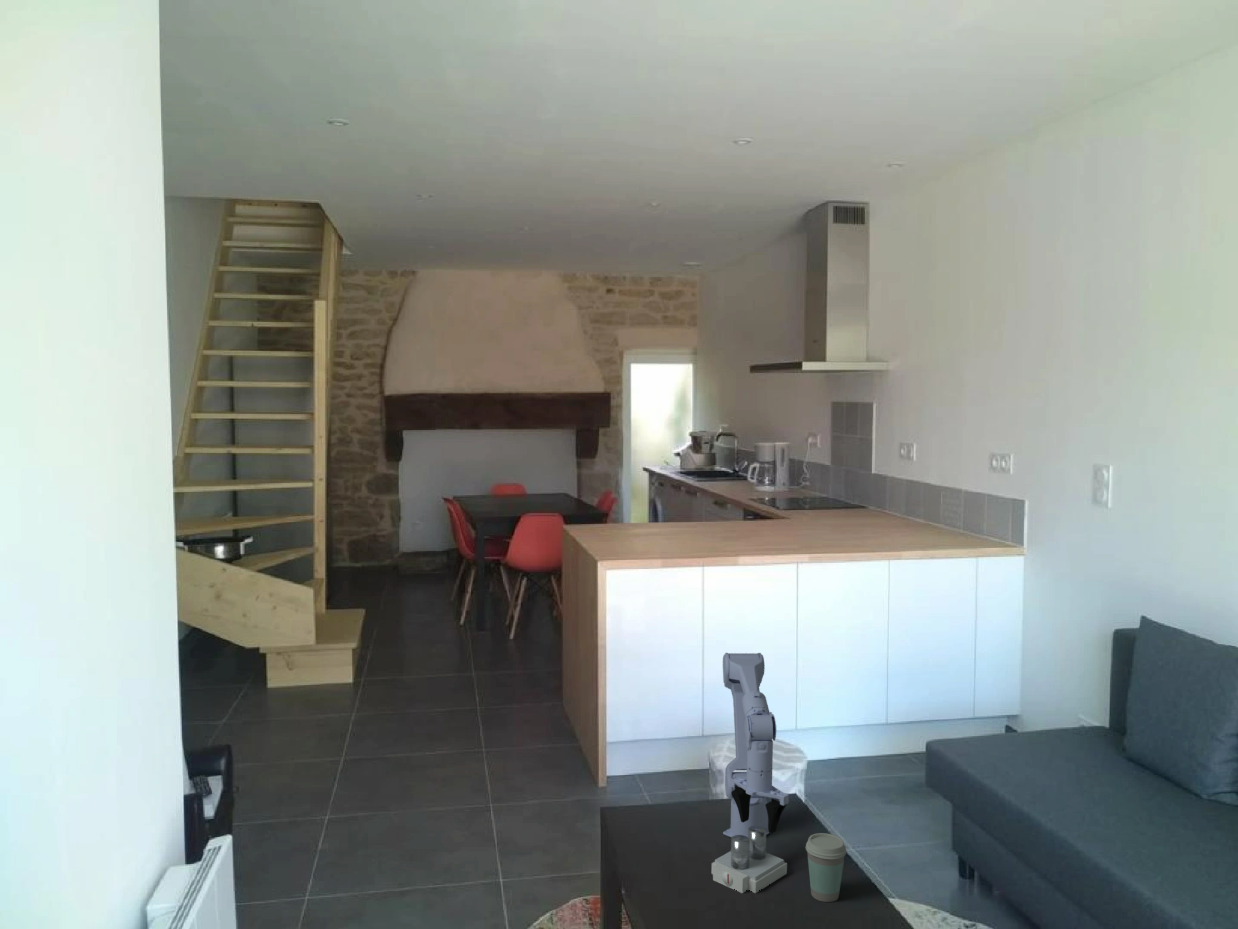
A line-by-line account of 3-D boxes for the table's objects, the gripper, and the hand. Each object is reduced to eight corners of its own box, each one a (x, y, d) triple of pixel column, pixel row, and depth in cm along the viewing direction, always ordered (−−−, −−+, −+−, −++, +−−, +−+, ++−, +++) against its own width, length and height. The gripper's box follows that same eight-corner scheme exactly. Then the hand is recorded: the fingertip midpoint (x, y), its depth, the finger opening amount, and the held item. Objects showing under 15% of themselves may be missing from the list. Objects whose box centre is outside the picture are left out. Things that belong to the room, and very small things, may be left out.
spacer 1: (739, 859, 209) (739, 833, 209) (752, 866, 206) (753, 839, 206) (727, 864, 207) (727, 838, 206) (740, 871, 204) (741, 845, 203)
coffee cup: (847, 889, 203) (848, 835, 202) (843, 909, 195) (844, 853, 194) (807, 882, 206) (808, 829, 205) (801, 901, 198) (803, 846, 197)
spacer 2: (755, 849, 214) (756, 824, 213) (769, 856, 211) (769, 830, 210) (744, 855, 211) (744, 829, 211) (757, 861, 208) (758, 835, 208)
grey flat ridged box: (743, 855, 218) (743, 842, 217) (786, 873, 209) (787, 859, 209) (704, 877, 207) (705, 863, 207) (748, 897, 199) (749, 883, 199)
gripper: (723, 763, 212) (722, 821, 213) (776, 781, 202) (775, 842, 203) (741, 755, 217) (740, 812, 218) (794, 772, 207) (793, 832, 208)
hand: (758, 826), depth 211 cm, fingers open, 7 cm apart
